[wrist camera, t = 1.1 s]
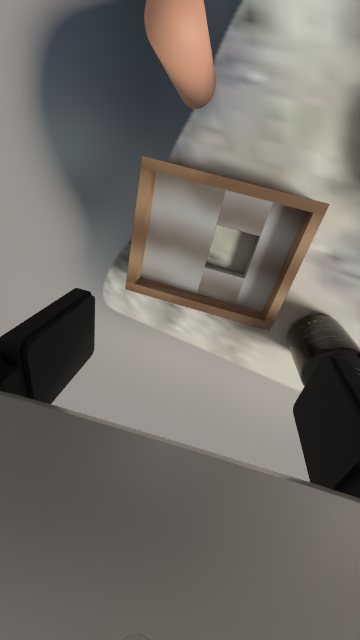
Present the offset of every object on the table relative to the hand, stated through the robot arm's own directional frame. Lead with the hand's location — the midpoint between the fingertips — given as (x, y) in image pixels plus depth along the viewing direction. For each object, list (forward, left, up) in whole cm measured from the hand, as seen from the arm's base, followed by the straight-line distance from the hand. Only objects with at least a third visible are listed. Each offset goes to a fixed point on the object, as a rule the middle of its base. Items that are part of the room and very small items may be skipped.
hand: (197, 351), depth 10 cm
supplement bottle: (+8, +15, -24) cm, 29 cm away
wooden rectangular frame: (0, -1, -23) cm, 23 cm away
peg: (-14, -7, -23) cm, 28 cm away
